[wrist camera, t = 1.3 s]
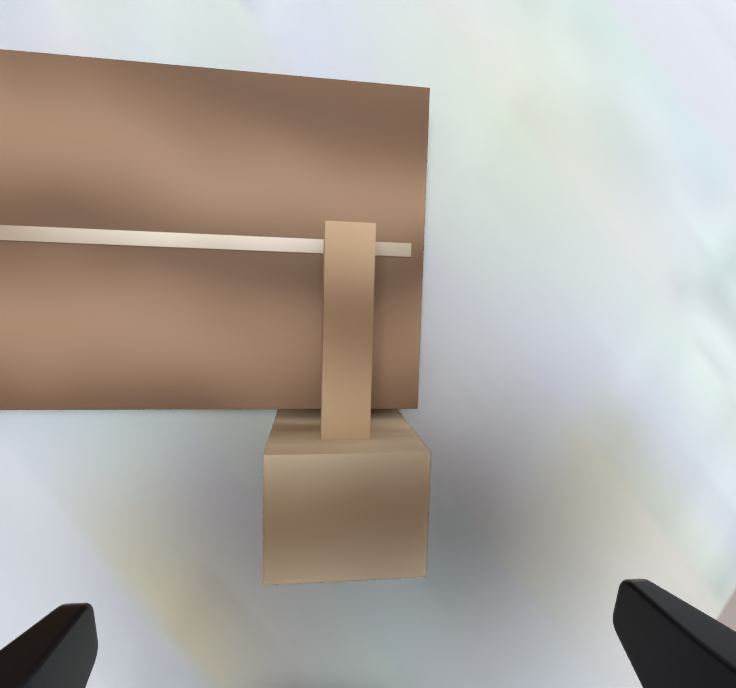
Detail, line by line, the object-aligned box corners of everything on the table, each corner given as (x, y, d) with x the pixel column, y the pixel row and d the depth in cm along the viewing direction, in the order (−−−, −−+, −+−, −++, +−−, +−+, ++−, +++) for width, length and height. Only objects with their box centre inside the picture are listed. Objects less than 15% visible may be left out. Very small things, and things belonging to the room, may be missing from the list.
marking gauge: (391, 494, 20) (425, 576, 14) (278, 497, 19) (262, 585, 13) (400, 243, 19) (441, 217, 13) (280, 238, 18) (264, 208, 12)
